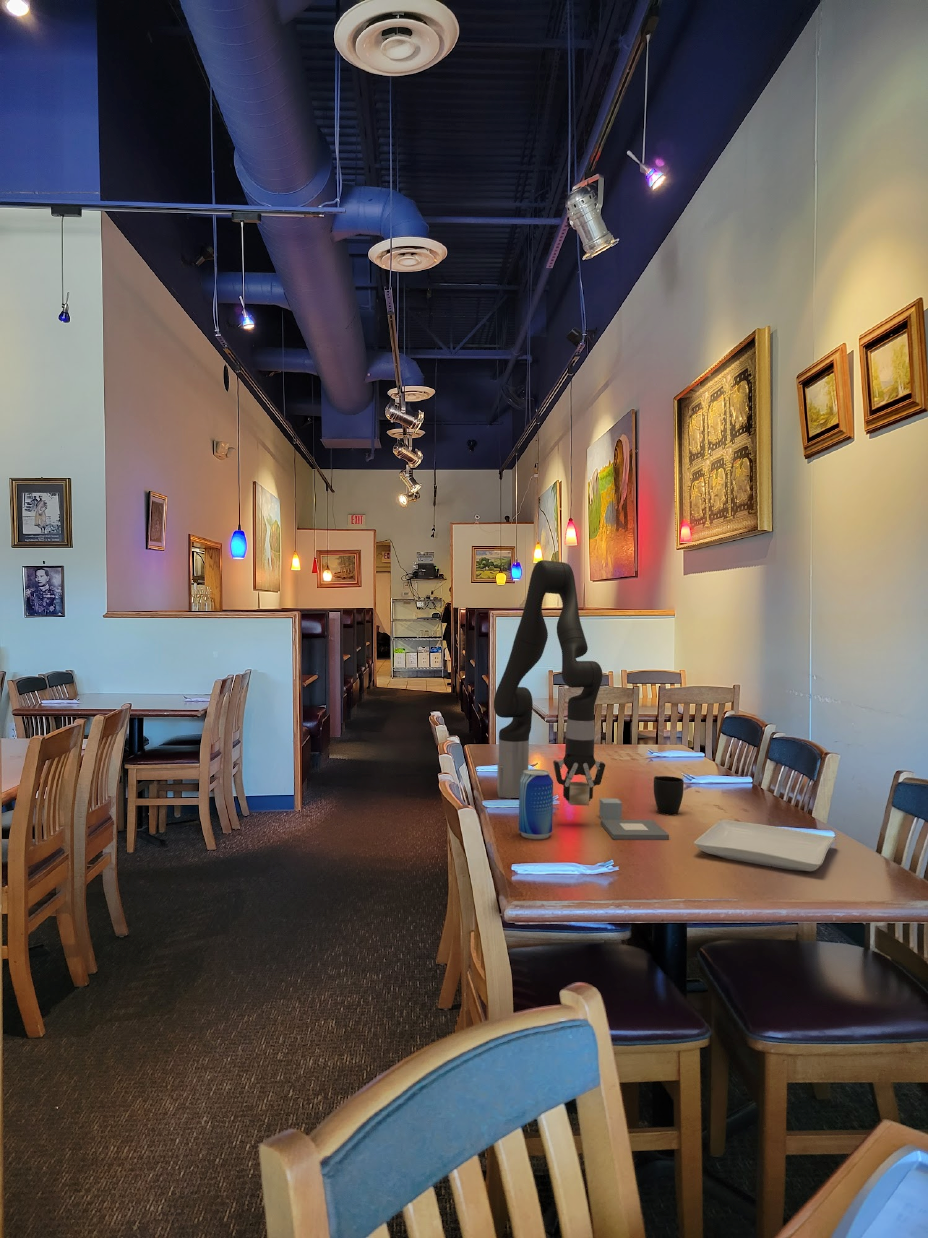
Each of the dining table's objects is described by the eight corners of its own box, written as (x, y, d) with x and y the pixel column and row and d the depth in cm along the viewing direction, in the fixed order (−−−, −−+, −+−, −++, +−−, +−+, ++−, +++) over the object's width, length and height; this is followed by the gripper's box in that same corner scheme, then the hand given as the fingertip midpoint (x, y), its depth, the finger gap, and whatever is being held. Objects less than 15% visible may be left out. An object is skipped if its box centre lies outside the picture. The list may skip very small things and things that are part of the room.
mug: (669, 805, 227) (669, 773, 227) (688, 815, 215) (688, 781, 215) (643, 806, 225) (643, 773, 225) (660, 816, 214) (661, 782, 214)
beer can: (530, 842, 187) (531, 776, 187) (512, 833, 194) (513, 769, 194) (558, 838, 191) (560, 773, 191) (540, 829, 198) (541, 767, 198)
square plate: (821, 881, 163) (821, 863, 163) (691, 858, 178) (691, 841, 178) (836, 850, 186) (836, 834, 186) (720, 832, 201) (720, 817, 201)
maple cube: (569, 805, 201) (570, 786, 201) (566, 800, 206) (567, 781, 206) (588, 805, 201) (589, 786, 201) (585, 800, 206) (585, 782, 206)
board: (613, 839, 190) (613, 834, 190) (600, 824, 204) (600, 819, 204) (669, 839, 191) (669, 834, 191) (652, 824, 205) (652, 819, 205)
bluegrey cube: (603, 821, 208) (603, 802, 208) (599, 816, 213) (599, 798, 213) (621, 821, 208) (621, 802, 208) (617, 816, 213) (617, 798, 213)
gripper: (555, 738, 199) (553, 803, 199) (610, 739, 200) (607, 804, 200) (550, 733, 207) (548, 796, 207) (603, 734, 207) (601, 797, 207)
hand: (577, 800), depth 203 cm, fingers closed on maple cube, 5 cm apart
